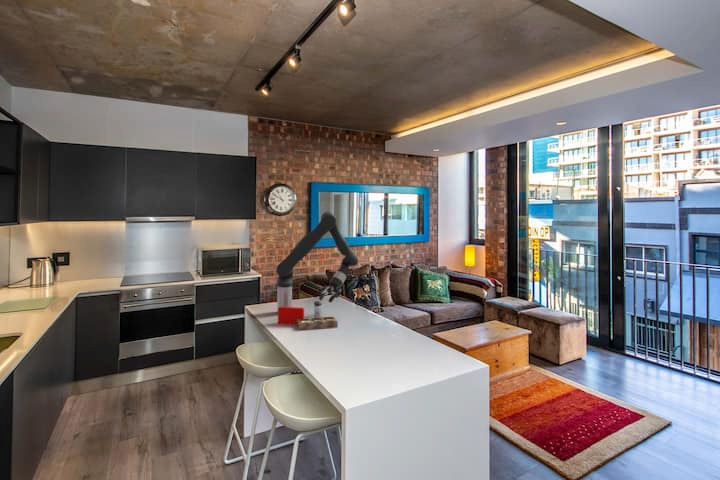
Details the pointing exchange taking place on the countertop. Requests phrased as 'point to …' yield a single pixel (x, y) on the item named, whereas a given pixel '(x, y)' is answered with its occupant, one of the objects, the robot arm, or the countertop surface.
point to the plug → (317, 309)
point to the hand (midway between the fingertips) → (324, 300)
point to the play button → (290, 315)
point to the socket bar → (317, 323)
